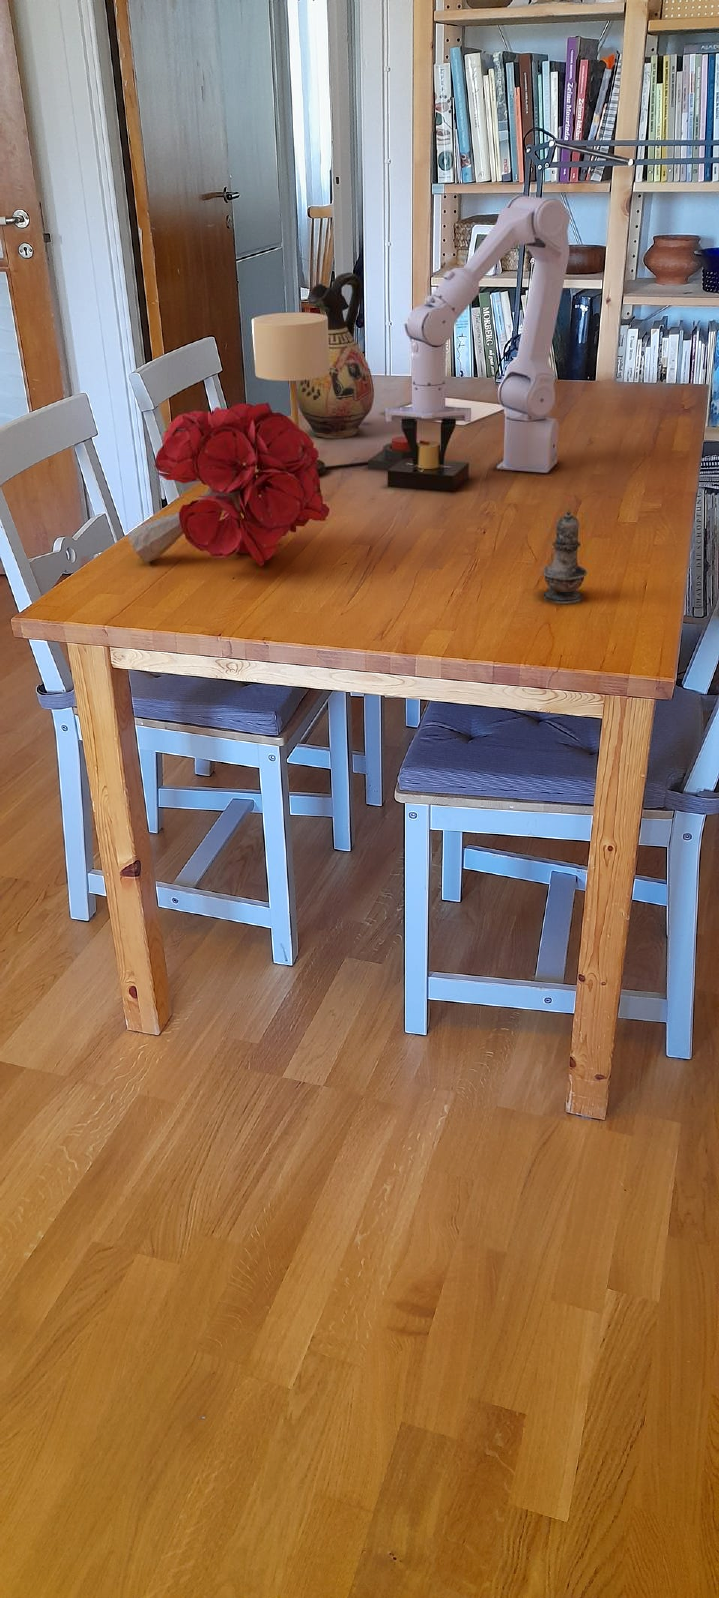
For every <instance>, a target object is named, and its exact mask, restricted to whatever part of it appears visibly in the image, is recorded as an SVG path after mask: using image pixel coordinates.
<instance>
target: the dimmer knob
mask: <svg viewBox="0 0 719 1598" xmlns="http://www.w3.org/2000/svg"><path fill="white" fill-rule="evenodd" d="M417 443H418V444H417V467H419V468H422V469H434V468H438V467H439V466H440V449H441V442H438V441H433V440H423V439H421V440H419V442H417Z"/></svg>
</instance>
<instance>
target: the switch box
mask: <svg viewBox="0 0 719 1598" xmlns="http://www.w3.org/2000/svg"><path fill="white" fill-rule="evenodd" d="M418 443H419V442H417V444H418ZM382 448H383V449H381V450H380V451H379V452H377V453H376V454H375V455H373V456H372V457H371V458H369V459H368V460H367V462H368V465H367V466H368V467H367V468H368V470H375V471H378V470H379V471H387V470H389V469H390V468H391V467H393V466H394V465H395V464H397V463H398V462H399V461H401V460H402V459H403V458H405V457H407V458H412V455H411V451H410V450H394V449H392V442H391V443H387V444H385V445H384V446H383V447H382Z"/></svg>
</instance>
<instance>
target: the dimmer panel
mask: <svg viewBox="0 0 719 1598" xmlns="http://www.w3.org/2000/svg"><path fill="white" fill-rule="evenodd" d="M386 471H387V488H395V489H403V490H404V489H405V490H416V491H428V492H440V493H450V494H451V493H452V494H453V493H455V492H456V491H457V490H458V489H460V488H461V486H463V485H464V484H465V483H466V482H467V481H468V480H469V477H470V476H469V475H470V474H469V473H470V462H469V461H458V460H457V461H456V460H446V459H444V465H440V466H439V467H438V468H434V469H422V468H419V467H417V465H413V460H412V458H407V457H405V458H403V459H402V460H401V461H399V462H398V463H397V464H395V465H394V466H393V467H391V468H390V469H389V470H386Z"/></svg>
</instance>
